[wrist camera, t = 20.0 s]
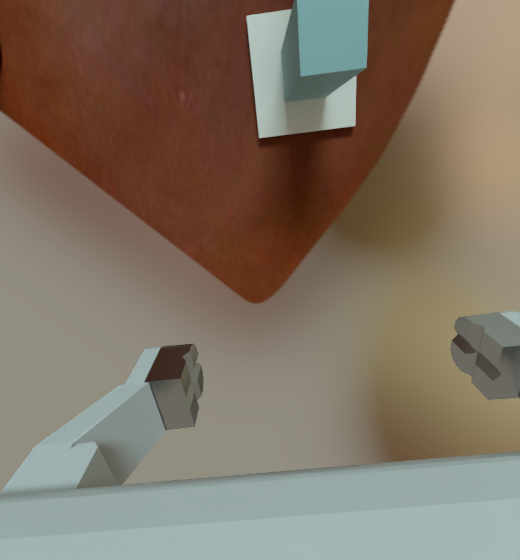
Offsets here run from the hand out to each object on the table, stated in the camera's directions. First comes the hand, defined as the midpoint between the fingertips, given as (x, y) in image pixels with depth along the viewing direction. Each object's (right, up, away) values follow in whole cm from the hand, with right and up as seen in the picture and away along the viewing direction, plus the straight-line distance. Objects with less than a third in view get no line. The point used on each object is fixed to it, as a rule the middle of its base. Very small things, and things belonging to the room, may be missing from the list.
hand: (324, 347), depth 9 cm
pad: (+3, +26, +25) cm, 37 cm away
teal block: (+3, +26, +25) cm, 36 cm away
